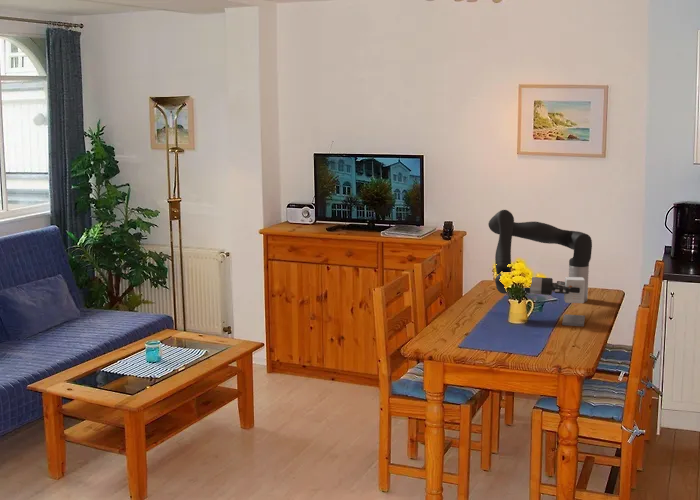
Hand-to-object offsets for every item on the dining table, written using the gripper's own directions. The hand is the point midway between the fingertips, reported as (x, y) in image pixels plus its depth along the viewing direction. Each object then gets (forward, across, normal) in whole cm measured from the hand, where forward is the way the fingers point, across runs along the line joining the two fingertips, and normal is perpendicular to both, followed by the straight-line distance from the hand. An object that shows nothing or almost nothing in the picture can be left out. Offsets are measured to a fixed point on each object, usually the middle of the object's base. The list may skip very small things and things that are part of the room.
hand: (580, 288), depth 376 cm
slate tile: (-2, 0, +15) cm, 15 cm away
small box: (-2, 0, +6) cm, 7 cm away
